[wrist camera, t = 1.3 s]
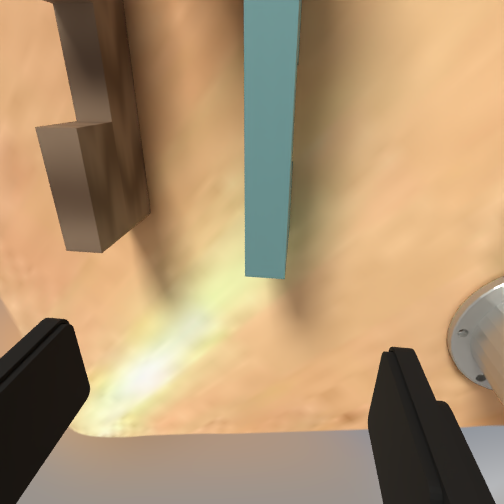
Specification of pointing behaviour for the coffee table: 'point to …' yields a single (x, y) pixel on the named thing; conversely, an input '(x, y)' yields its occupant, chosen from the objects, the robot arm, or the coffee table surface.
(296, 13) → the teal plate
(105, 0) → the brown flat notched block
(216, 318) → the coffee table surface
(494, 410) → the coffee table surface
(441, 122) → the coffee table surface
